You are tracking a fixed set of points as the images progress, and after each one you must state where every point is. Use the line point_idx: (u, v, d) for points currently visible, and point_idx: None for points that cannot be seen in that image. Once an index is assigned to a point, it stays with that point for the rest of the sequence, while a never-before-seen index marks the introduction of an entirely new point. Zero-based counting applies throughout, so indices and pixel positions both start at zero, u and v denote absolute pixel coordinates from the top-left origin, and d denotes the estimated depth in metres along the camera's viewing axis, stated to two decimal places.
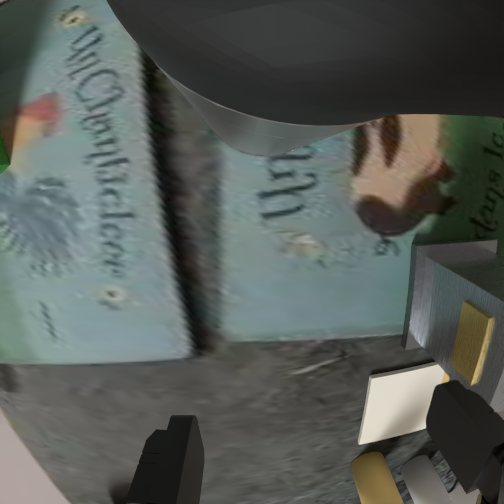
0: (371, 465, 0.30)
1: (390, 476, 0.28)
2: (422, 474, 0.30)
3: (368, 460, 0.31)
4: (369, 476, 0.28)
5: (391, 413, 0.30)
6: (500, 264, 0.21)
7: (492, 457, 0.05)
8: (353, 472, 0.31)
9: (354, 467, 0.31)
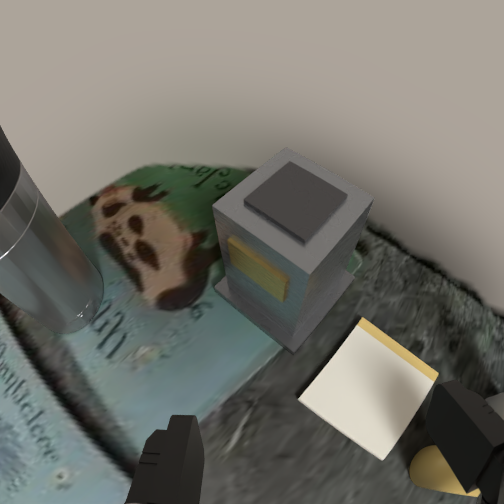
0: (422, 461, 0.20)
1: None
2: (495, 408, 0.21)
3: (417, 462, 0.21)
4: (427, 468, 0.19)
5: (367, 407, 0.25)
6: None
7: (492, 458, 0.05)
8: (421, 485, 0.20)
9: (415, 481, 0.20)
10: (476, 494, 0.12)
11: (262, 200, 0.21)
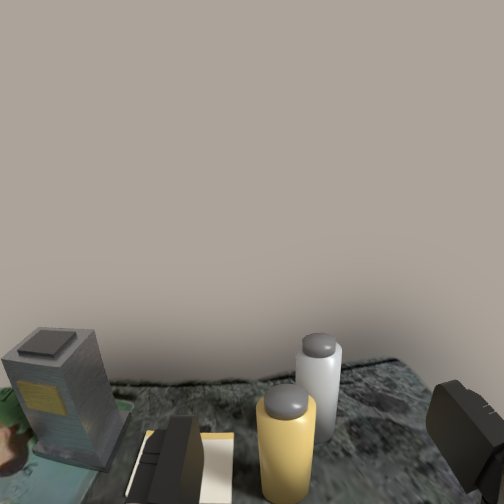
0: (261, 480, 0.23)
1: None
2: None
3: (262, 486, 0.23)
4: (263, 476, 0.22)
5: None
6: None
7: (492, 458, 0.05)
8: (284, 497, 0.22)
9: (279, 500, 0.22)
10: (286, 433, 0.20)
11: (27, 347, 0.25)
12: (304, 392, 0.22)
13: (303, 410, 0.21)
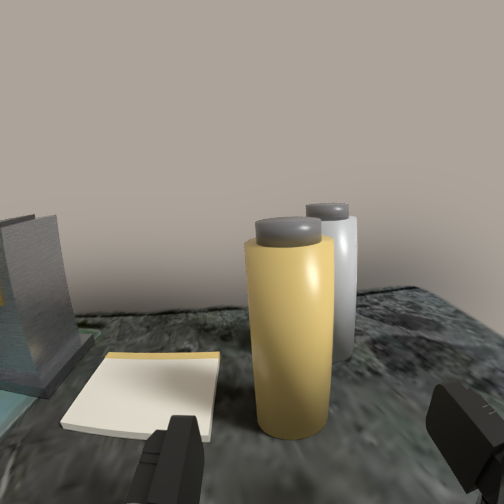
0: (255, 396, 0.17)
1: None
2: None
3: (257, 409, 0.17)
4: (259, 382, 0.16)
5: (147, 402, 0.19)
6: None
7: (492, 457, 0.05)
8: (292, 422, 0.16)
9: (283, 429, 0.16)
10: (291, 267, 0.14)
11: None
12: (314, 218, 0.16)
13: (315, 234, 0.15)
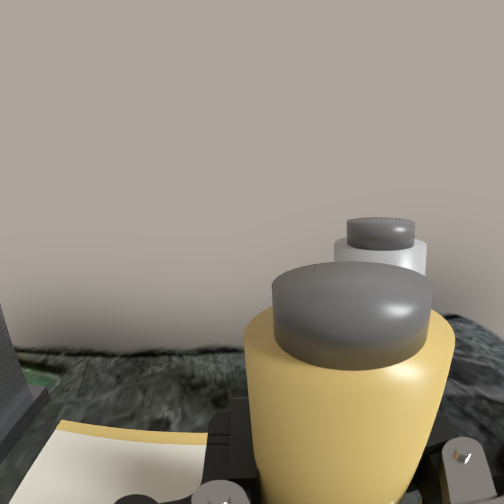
0: None
1: None
2: None
3: None
4: None
5: None
6: None
7: (428, 458, 0.06)
8: None
9: None
10: (373, 425, 0.04)
11: None
12: (407, 272, 0.06)
13: (426, 324, 0.05)
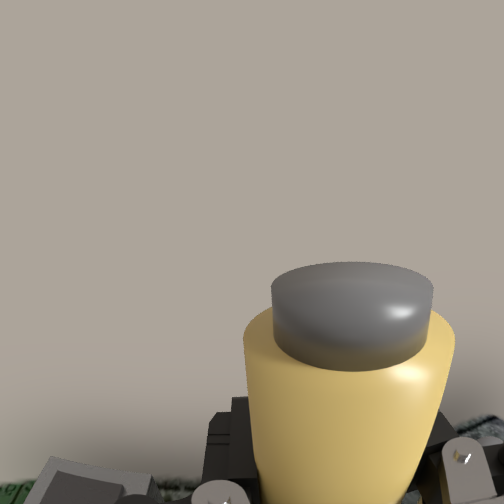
0: None
1: None
2: None
3: None
4: None
5: None
6: None
7: (428, 458, 0.06)
8: None
9: None
10: (373, 426, 0.04)
11: None
12: (407, 272, 0.06)
13: (426, 325, 0.05)
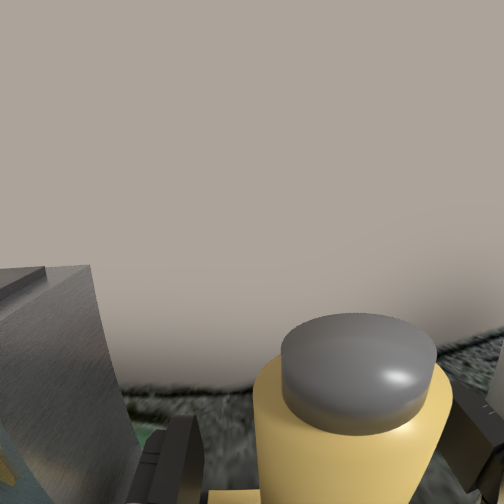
0: None
1: None
2: (501, 411, 0.13)
3: None
4: None
5: None
6: None
7: (492, 458, 0.05)
8: None
9: None
10: (371, 481, 0.04)
11: None
12: (413, 330, 0.06)
13: (426, 389, 0.05)
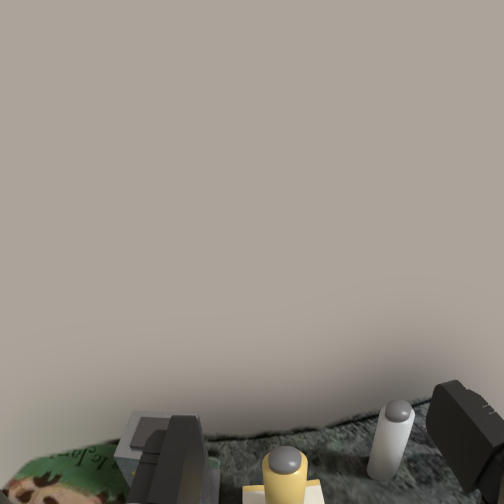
0: None
1: None
2: (373, 461, 0.33)
3: None
4: None
5: None
6: None
7: (492, 458, 0.05)
8: None
9: None
10: (284, 483, 0.25)
11: (140, 442, 0.28)
12: (298, 454, 0.27)
13: (297, 467, 0.25)
